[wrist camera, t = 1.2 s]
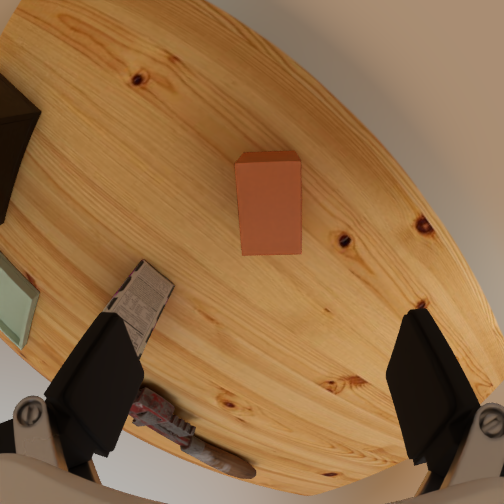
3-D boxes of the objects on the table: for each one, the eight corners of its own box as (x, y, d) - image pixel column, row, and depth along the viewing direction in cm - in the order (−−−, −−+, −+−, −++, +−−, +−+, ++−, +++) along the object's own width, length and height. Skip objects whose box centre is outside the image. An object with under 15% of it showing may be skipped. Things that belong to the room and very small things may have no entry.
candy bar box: (134, 333, 35) (82, 435, 21) (104, 310, 34) (41, 405, 20) (179, 285, 31) (120, 409, 17) (143, 256, 30) (61, 366, 15)
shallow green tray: (-7, 243, 32) (-15, 249, 30) (40, 292, 34) (32, 300, 32) (-12, 304, 38) (-18, 310, 36) (26, 343, 41) (21, 350, 39)
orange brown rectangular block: (243, 152, 25) (234, 163, 19) (295, 150, 24) (301, 160, 19) (248, 226, 28) (241, 255, 22) (296, 225, 27) (301, 254, 22)
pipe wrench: (83, 373, 42) (72, 394, 37) (111, 348, 37) (97, 372, 33) (244, 467, 53) (242, 485, 49) (287, 455, 49) (287, 475, 44)
